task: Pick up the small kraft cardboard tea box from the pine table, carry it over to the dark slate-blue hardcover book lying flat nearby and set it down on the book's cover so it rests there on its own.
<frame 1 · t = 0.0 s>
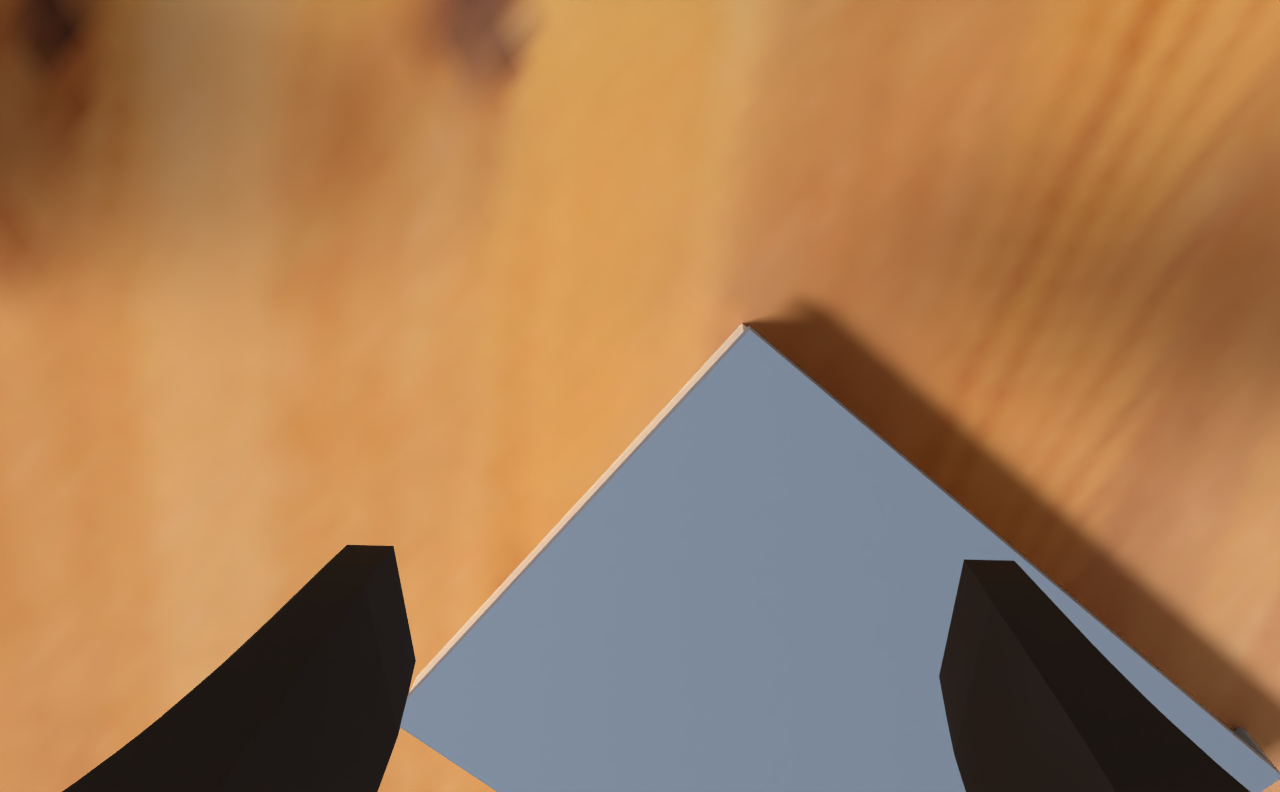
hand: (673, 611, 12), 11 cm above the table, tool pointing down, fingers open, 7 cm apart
book: (817, 695, 25), on the table
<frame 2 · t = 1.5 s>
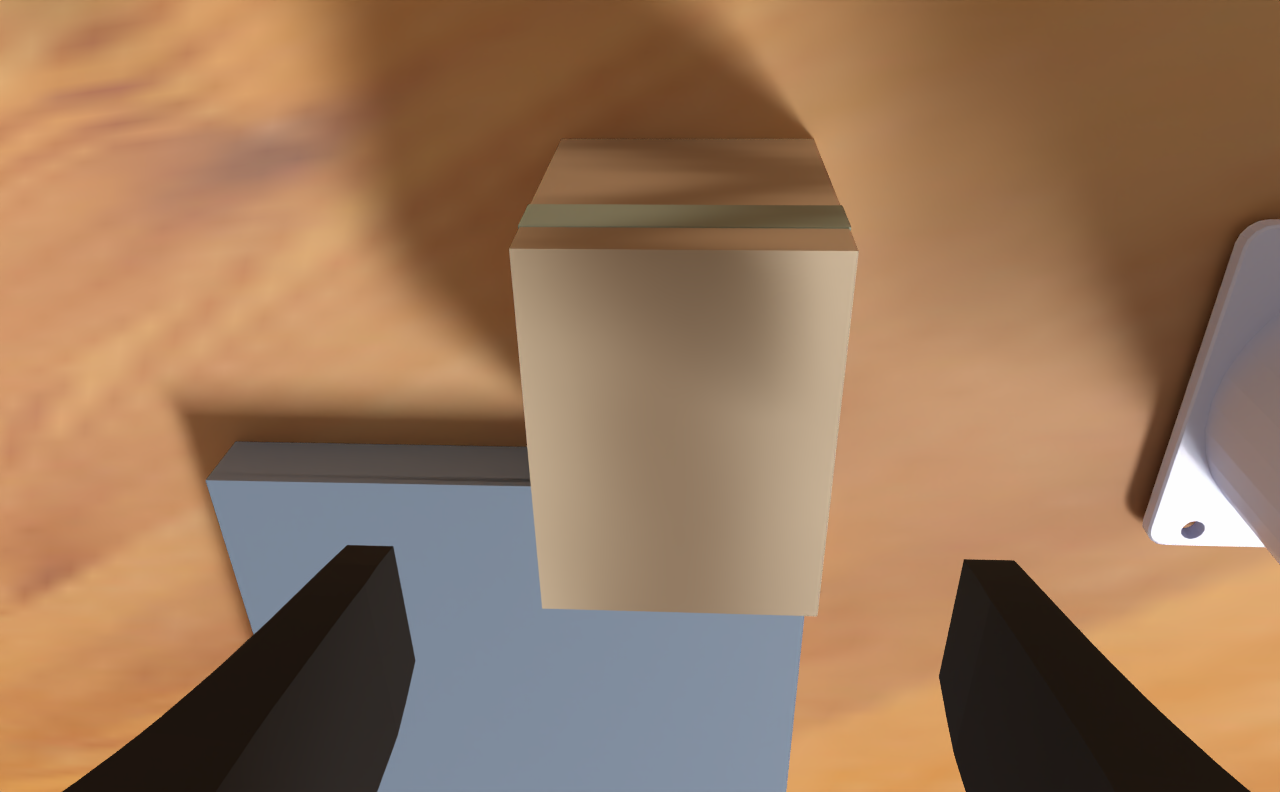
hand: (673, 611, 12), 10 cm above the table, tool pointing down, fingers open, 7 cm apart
tea box: (684, 298, 20), on the table
book: (544, 693, 27), on the table
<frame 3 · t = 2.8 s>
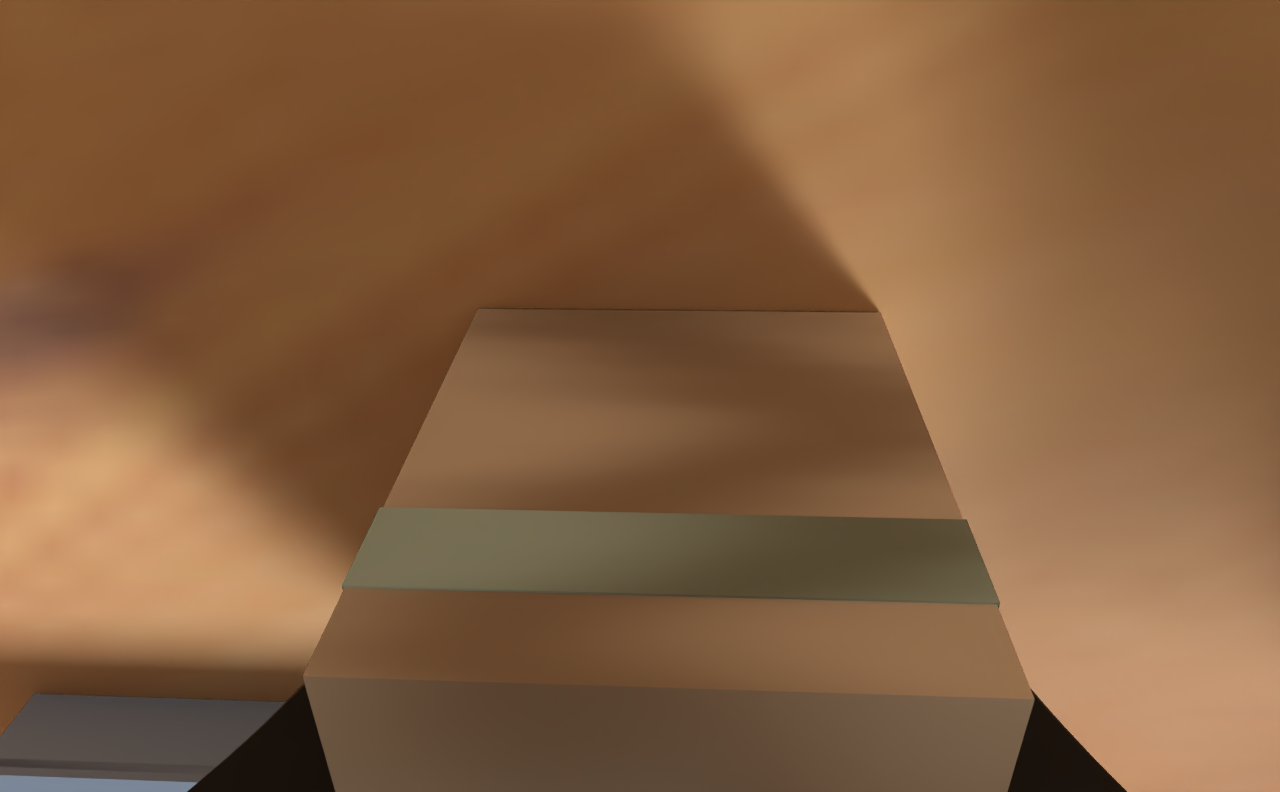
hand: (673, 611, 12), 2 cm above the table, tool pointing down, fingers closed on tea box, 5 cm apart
tea box: (675, 531, 13), on the table, touching gripper
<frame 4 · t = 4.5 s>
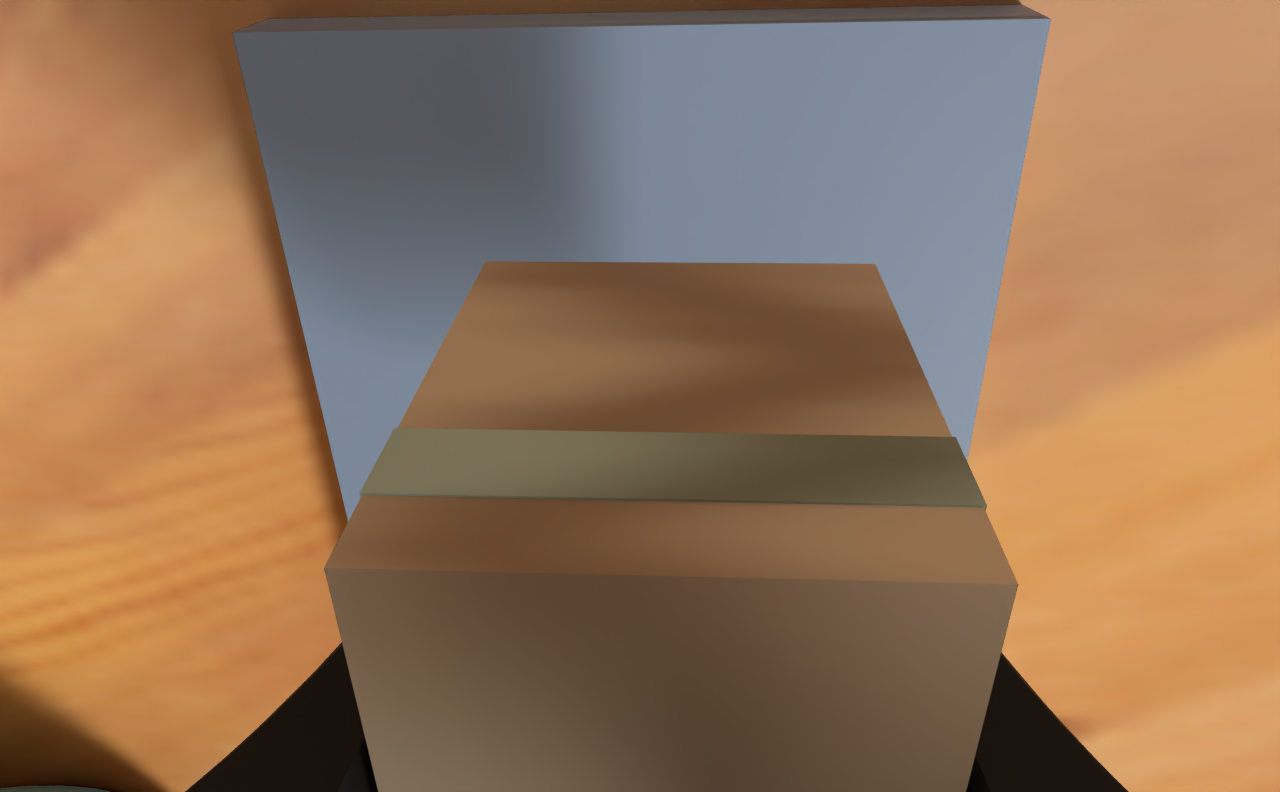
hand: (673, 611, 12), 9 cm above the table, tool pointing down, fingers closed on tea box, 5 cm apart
tea box: (676, 485, 14), point 7 cm above the table, touching gripper
book: (647, 412, 22), on the table
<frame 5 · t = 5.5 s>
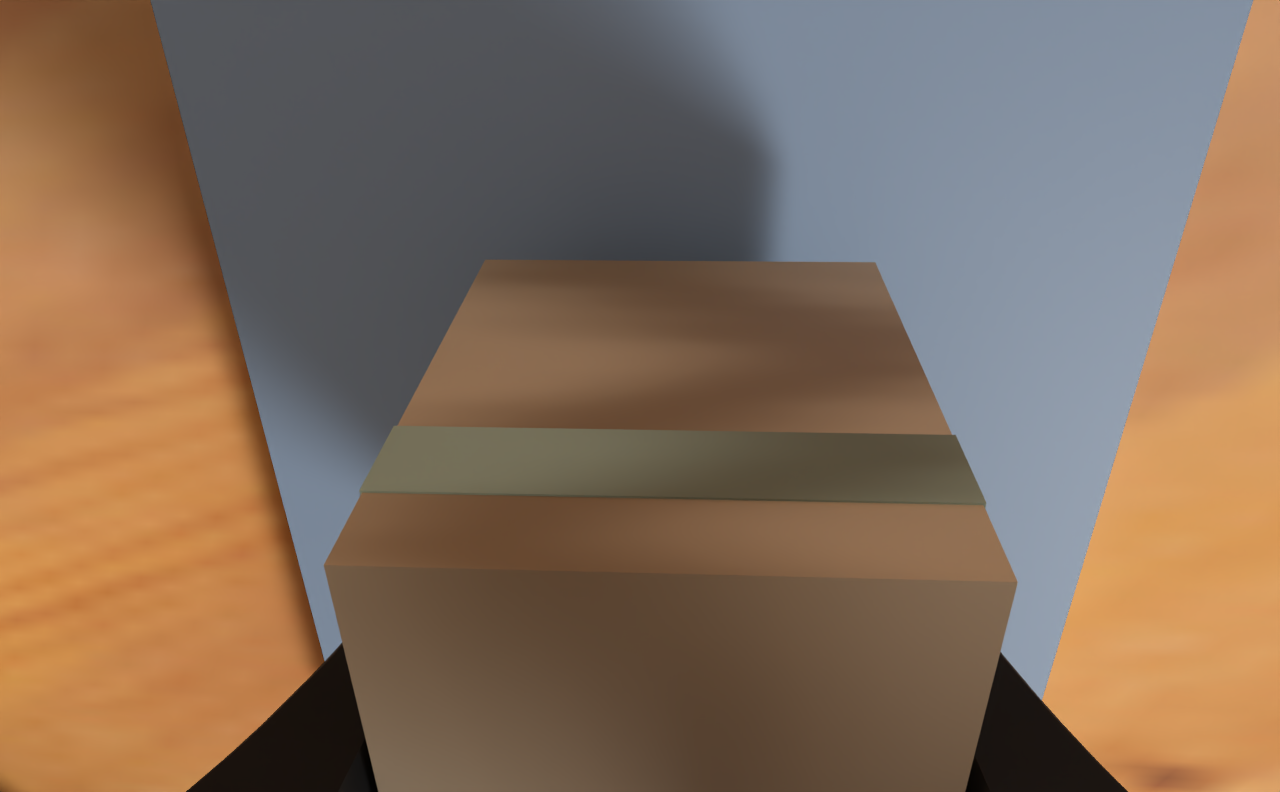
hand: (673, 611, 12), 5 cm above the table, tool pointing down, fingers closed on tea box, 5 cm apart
tea box: (676, 483, 14), point 3 cm above the table, touching gripper
book: (682, 372, 17), on the table
when the fingers open (5 cm above the table, at t = 6.2 s): tea box stays where it is, resting on book.
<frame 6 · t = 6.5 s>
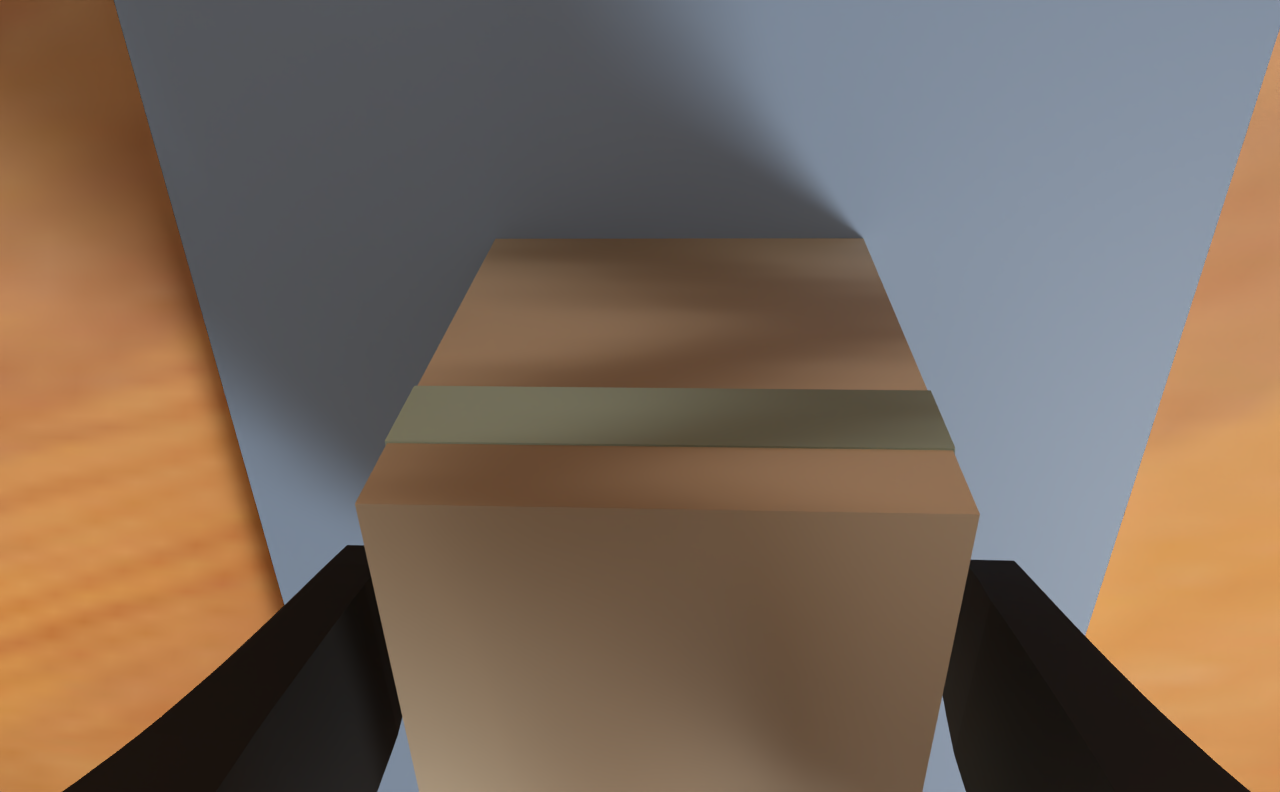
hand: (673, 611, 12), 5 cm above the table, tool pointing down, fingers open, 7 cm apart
tea box: (677, 452, 14), point 2 cm above the table, touching book
book: (680, 392, 16), on the table, touching tea box
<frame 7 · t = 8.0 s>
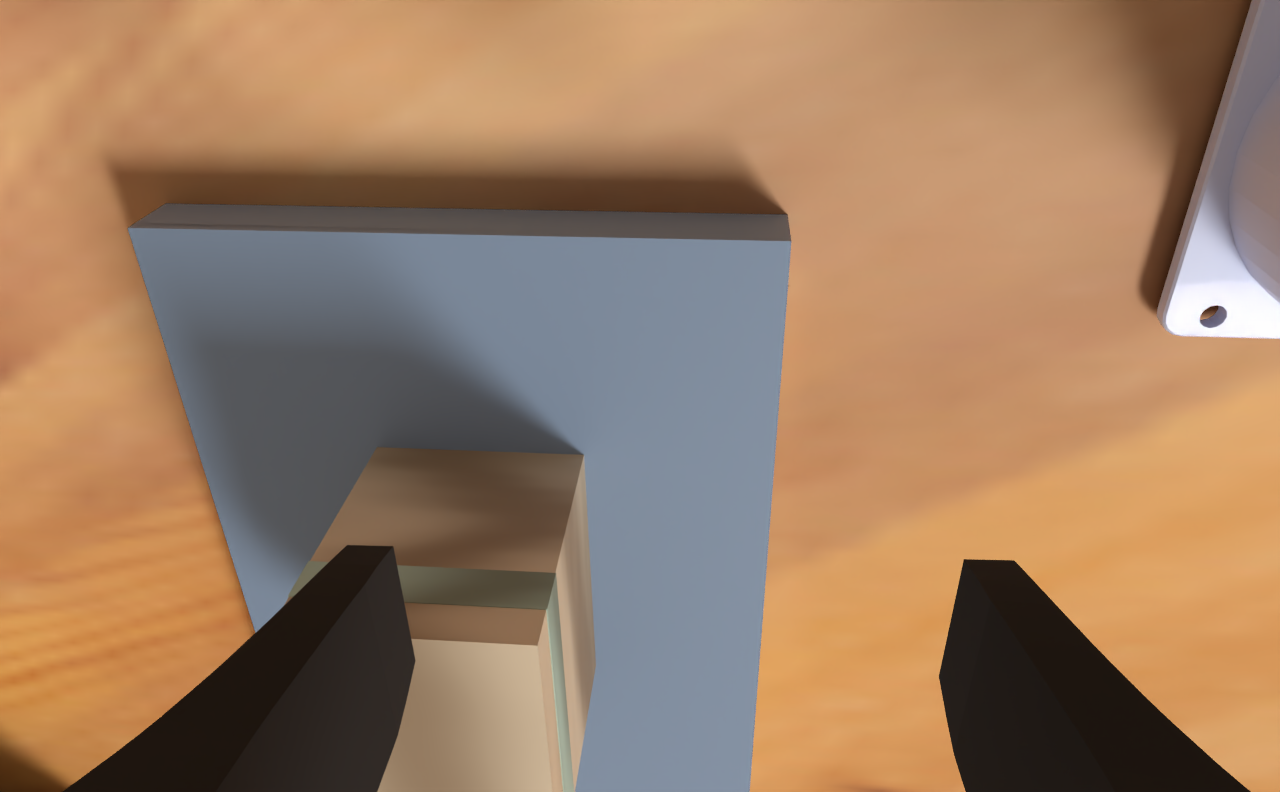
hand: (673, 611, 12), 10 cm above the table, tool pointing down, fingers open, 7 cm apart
tea box: (493, 563, 24), point 1 cm above the table, touching book
book: (507, 516, 25), on the table, touching tea box
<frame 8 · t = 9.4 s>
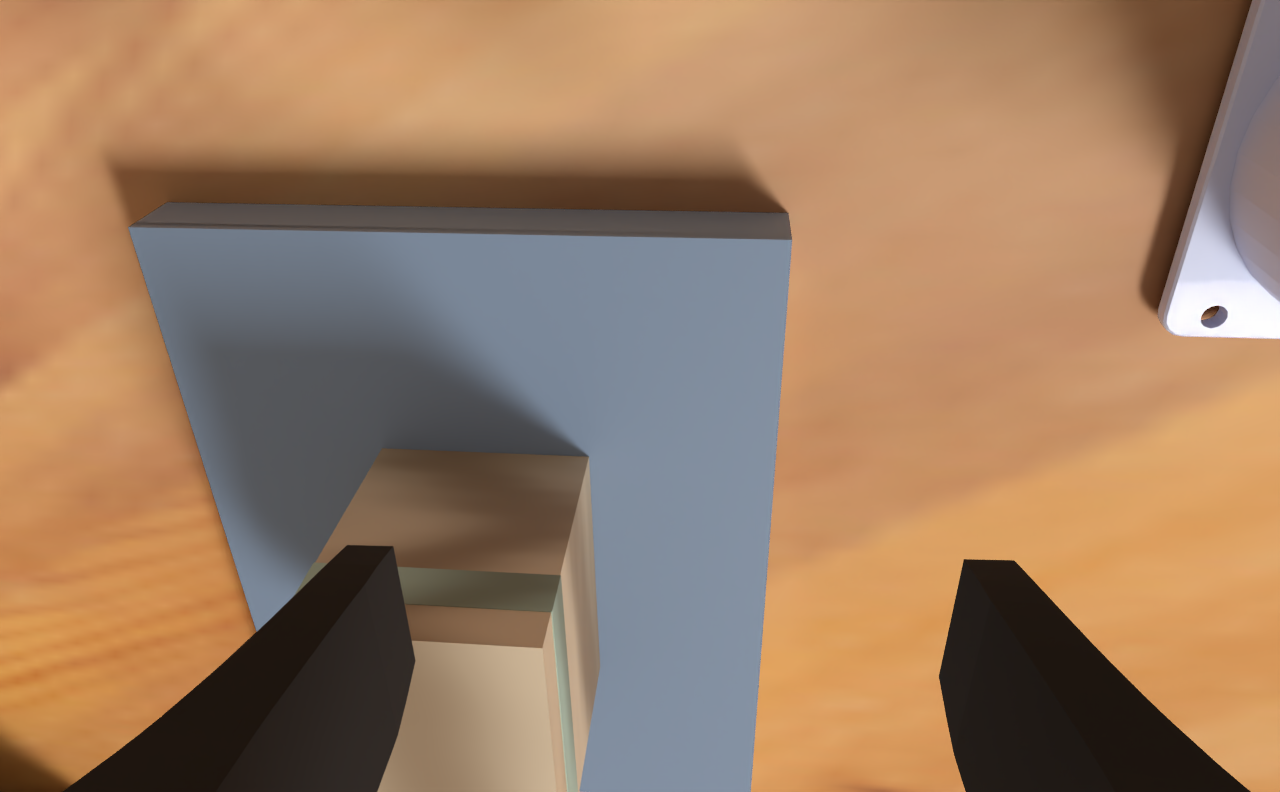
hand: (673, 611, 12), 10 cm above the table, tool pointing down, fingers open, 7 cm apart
tea box: (498, 564, 24), point 2 cm above the table, touching book
book: (508, 516, 25), on the table, touching tea box
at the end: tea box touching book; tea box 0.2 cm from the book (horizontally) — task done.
